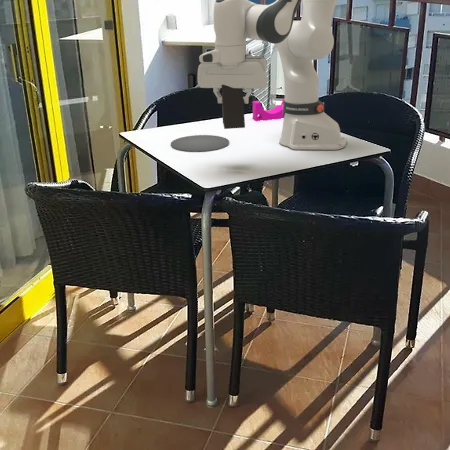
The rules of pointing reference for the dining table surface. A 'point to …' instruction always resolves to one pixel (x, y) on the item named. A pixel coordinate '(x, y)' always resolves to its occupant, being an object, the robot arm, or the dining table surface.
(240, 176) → the dining table surface
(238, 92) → the phone stand
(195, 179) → the dining table surface
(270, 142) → the dining table surface
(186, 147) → the mat
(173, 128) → the dining table surface
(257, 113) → the toy block
